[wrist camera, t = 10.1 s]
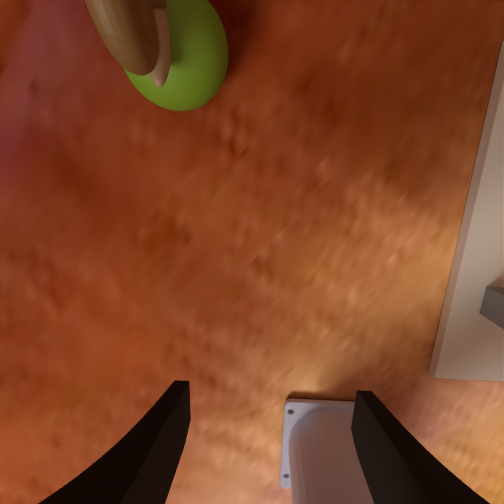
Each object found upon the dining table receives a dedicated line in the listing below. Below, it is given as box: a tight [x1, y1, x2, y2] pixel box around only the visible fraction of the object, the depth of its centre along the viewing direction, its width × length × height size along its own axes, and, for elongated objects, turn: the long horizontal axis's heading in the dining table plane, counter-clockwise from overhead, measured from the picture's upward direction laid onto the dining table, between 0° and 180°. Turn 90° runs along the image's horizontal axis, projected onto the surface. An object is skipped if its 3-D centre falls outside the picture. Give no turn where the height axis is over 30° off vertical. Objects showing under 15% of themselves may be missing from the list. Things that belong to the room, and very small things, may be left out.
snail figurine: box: [85, 0, 228, 111], centre depth 11 cm, size 5×6×12 cm
